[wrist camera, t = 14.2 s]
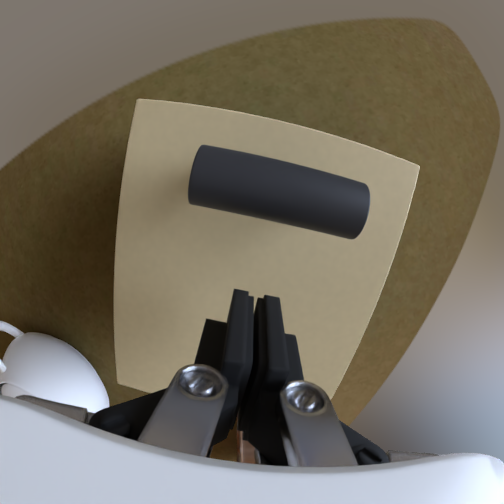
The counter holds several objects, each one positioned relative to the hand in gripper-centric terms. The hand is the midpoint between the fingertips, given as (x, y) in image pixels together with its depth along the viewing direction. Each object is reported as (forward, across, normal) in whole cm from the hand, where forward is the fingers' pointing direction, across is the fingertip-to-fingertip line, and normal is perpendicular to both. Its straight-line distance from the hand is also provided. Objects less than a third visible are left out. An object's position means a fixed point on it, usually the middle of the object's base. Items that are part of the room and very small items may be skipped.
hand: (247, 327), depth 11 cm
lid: (+3, 0, 0) cm, 3 cm away
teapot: (+12, +17, +21) cm, 29 cm away
